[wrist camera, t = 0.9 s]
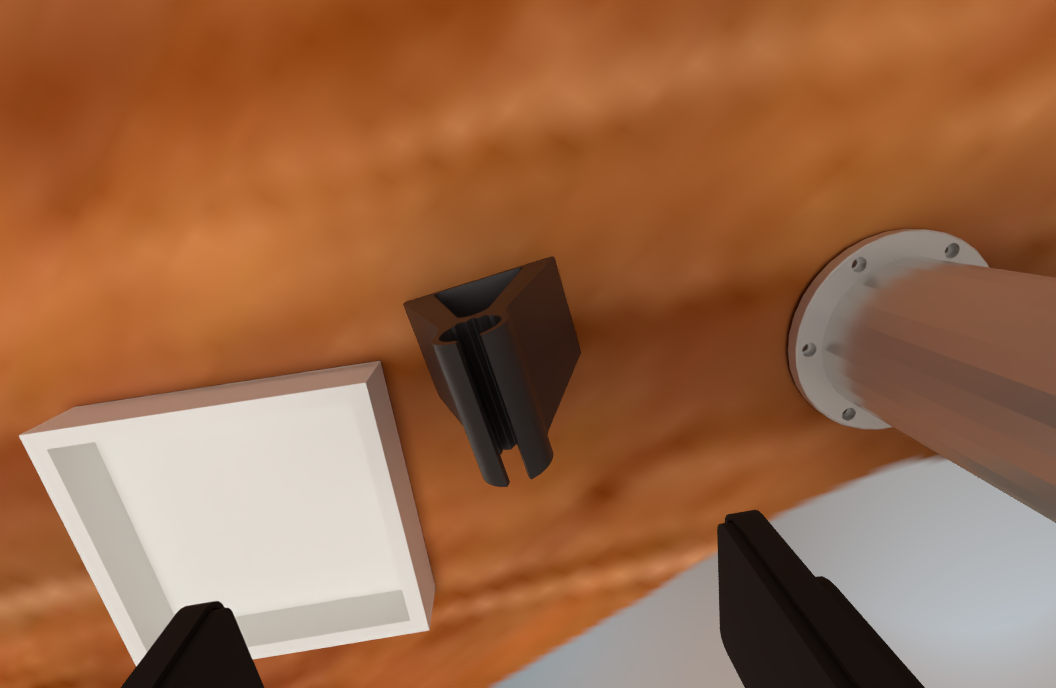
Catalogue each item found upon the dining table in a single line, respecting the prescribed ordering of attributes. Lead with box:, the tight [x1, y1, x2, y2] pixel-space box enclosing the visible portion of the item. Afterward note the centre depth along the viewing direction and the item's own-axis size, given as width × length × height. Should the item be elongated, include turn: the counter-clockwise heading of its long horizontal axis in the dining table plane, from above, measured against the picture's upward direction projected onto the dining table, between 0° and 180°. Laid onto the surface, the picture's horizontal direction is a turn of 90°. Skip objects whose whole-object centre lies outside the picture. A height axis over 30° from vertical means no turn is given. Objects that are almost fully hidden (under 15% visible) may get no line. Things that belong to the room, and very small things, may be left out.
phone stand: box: [403, 257, 581, 487], centre depth 23 cm, size 9×6×12 cm, turn 107°
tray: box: [19, 361, 436, 667], centre depth 30 cm, size 18×17×4 cm
